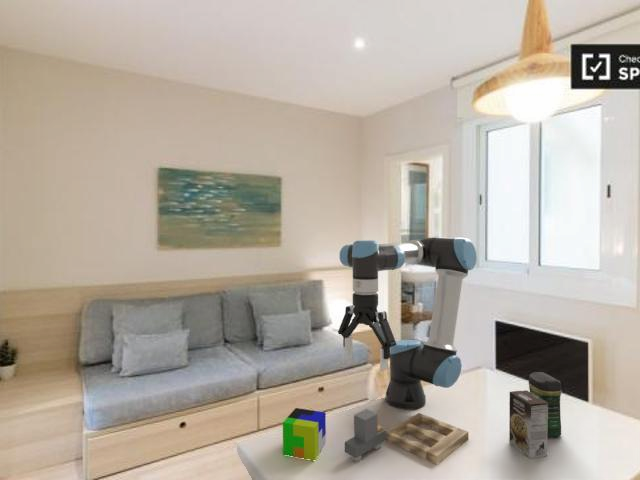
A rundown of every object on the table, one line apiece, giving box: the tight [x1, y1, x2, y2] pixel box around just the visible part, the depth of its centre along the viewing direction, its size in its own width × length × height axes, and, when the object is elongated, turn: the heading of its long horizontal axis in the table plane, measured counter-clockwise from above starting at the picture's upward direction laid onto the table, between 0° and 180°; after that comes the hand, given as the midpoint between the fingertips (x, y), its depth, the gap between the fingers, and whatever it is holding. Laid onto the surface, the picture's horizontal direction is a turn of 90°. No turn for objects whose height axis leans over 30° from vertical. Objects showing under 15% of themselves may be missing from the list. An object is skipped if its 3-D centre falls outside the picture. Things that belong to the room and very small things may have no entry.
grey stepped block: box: [344, 408, 387, 462], centre depth 119 cm, size 4×14×12 cm, turn 134°
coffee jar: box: [528, 371, 563, 439], centre depth 130 cm, size 10×8×19 cm
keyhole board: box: [385, 412, 469, 465], centre depth 125 cm, size 18×19×2 cm
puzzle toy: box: [282, 407, 327, 461], centre depth 121 cm, size 10×10×10 cm
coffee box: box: [508, 390, 548, 459], centre depth 119 cm, size 9×6×16 cm
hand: (365, 363), depth 118 cm, fingers open, 13 cm apart
